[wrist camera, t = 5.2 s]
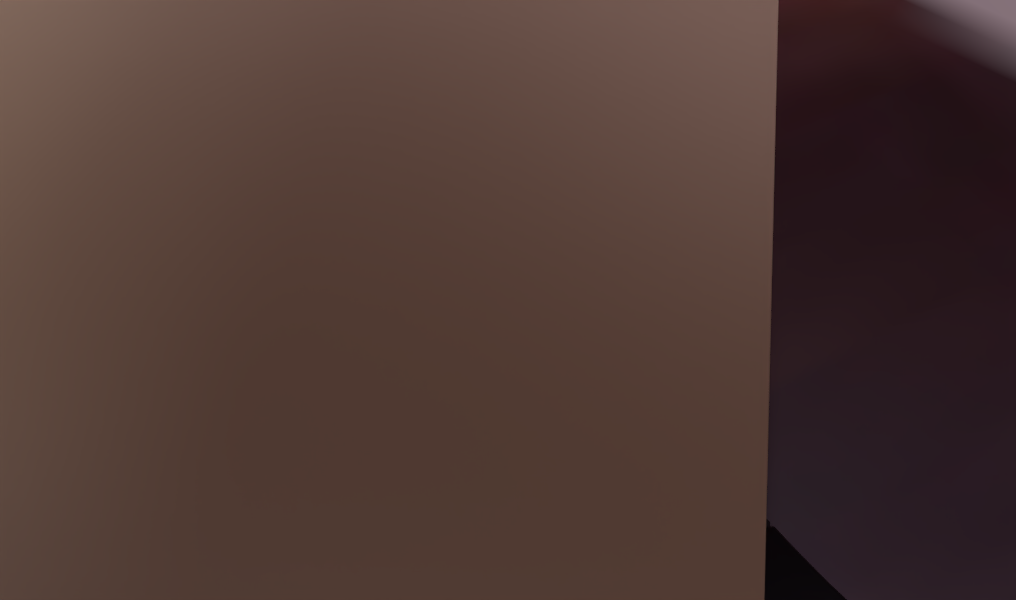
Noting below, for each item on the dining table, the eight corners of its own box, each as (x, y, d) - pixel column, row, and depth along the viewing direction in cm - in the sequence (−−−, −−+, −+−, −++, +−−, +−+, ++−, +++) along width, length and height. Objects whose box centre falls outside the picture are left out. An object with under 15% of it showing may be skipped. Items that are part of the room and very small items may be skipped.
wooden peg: (535, 616, 14) (747, 1263, 2) (332, 582, 14) (-732, 953, 2) (561, 410, 16) (778, -16, 3) (377, 382, 16) (-82, -120, 3)
